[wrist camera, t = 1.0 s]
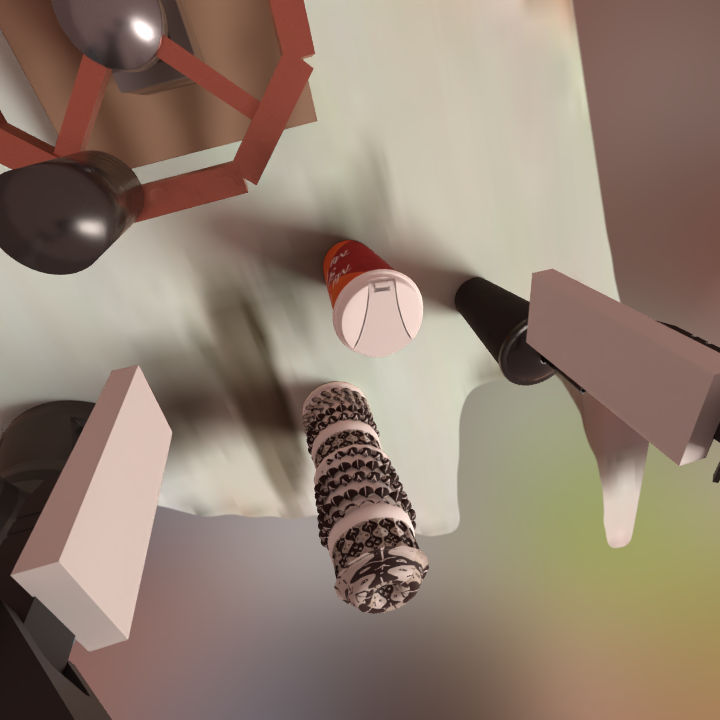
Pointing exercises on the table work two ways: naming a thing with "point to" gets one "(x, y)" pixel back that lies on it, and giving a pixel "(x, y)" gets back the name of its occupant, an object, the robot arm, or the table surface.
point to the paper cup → (370, 300)
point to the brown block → (157, 78)
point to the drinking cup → (505, 331)
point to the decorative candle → (361, 503)
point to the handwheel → (108, 173)
